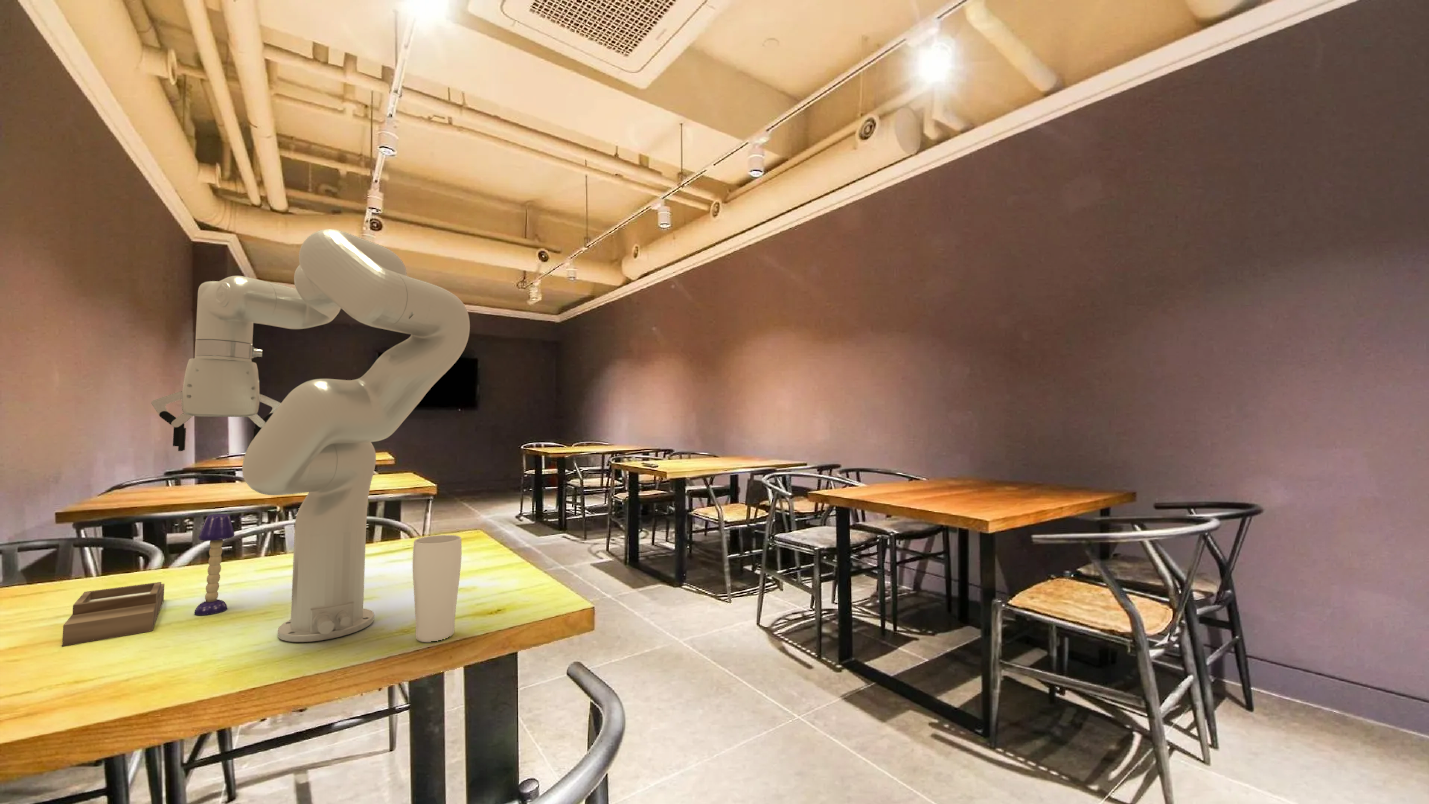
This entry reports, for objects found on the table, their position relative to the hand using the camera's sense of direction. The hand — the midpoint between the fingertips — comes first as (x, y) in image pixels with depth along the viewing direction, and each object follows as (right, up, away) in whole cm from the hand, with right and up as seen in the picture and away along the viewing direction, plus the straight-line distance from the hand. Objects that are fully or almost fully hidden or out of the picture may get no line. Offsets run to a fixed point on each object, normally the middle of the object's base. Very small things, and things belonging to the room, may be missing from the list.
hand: (219, 450), depth 96 cm
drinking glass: (+44, -28, -12) cm, 53 cm away
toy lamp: (0, -28, -1) cm, 28 cm away
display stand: (-11, -28, -6) cm, 30 cm away
